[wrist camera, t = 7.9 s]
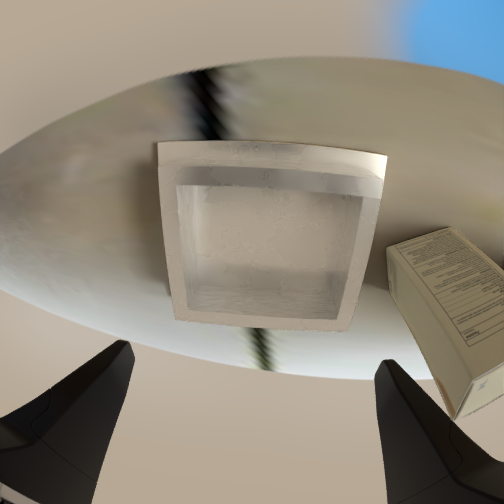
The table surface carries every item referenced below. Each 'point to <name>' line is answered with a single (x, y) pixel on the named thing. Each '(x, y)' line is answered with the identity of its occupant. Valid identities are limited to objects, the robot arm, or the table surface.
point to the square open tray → (267, 231)
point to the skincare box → (453, 315)
